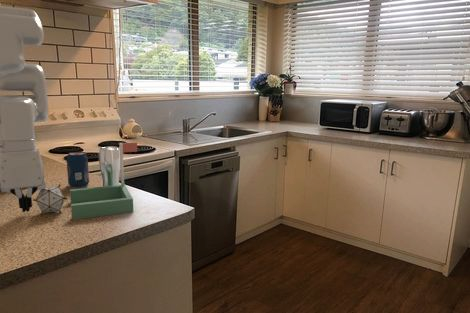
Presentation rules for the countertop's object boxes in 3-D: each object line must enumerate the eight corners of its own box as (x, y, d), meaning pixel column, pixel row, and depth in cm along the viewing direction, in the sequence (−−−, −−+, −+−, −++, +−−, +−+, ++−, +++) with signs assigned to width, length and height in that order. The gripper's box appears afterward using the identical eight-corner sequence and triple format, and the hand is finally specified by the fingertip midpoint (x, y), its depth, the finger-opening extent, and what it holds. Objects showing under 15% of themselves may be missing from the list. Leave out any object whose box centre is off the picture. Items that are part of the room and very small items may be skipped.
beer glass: (109, 194, 122) (107, 150, 119) (96, 191, 126) (93, 148, 123) (126, 189, 128) (124, 147, 125) (112, 186, 132) (110, 145, 128)
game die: (55, 226, 104) (50, 207, 97) (29, 214, 105) (23, 194, 98) (75, 204, 111) (72, 184, 103) (50, 192, 111) (46, 171, 104)
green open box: (72, 219, 100) (67, 155, 96) (70, 201, 114) (66, 145, 111) (148, 210, 109) (146, 150, 105) (138, 194, 123) (136, 142, 119)
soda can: (68, 184, 133) (66, 151, 131) (89, 182, 136) (87, 150, 134) (68, 189, 127) (65, 155, 125) (89, 187, 130) (87, 154, 127)
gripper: (-16, 149, 92) (-8, 218, 96) (50, 146, 98) (55, 211, 102) (-11, 144, 99) (-3, 209, 102) (51, 142, 105) (56, 203, 108)
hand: (26, 210), depth 102 cm, fingers closed
